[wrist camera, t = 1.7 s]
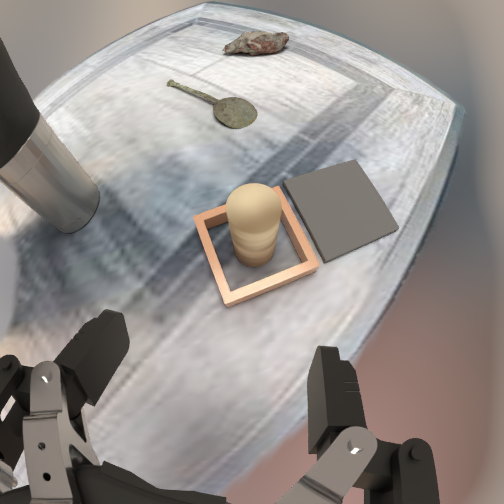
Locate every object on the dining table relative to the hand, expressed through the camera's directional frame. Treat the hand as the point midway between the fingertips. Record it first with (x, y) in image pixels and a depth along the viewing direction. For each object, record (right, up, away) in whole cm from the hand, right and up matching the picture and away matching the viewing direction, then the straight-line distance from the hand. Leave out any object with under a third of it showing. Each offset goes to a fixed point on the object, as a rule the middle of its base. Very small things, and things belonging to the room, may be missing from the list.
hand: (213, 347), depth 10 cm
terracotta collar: (+2, +4, +22) cm, 23 cm away
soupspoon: (-7, +31, +33) cm, 45 cm away
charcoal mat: (+13, +10, +24) cm, 29 cm away
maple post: (+2, +4, +22) cm, 23 cm away
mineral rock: (+3, +50, +40) cm, 64 cm away
